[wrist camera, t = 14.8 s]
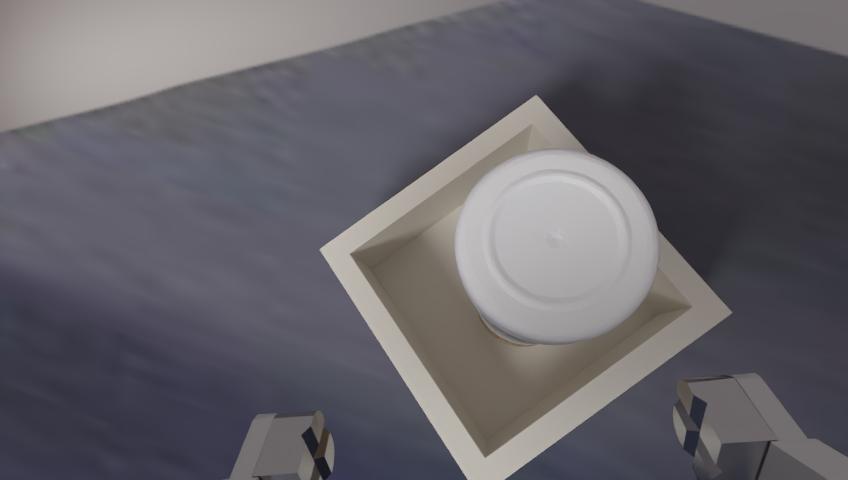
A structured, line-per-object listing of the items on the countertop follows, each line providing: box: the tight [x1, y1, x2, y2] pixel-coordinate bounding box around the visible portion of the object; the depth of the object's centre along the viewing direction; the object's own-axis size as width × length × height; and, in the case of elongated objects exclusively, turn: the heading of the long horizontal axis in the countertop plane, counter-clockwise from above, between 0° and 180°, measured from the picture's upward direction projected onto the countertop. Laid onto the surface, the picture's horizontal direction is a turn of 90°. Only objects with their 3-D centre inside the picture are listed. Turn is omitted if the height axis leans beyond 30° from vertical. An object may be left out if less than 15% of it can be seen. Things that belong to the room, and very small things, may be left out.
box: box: [320, 95, 732, 480], centre depth 22 cm, size 12×12×5 cm
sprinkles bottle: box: [454, 148, 660, 347], centre depth 17 cm, size 5×5×14 cm
